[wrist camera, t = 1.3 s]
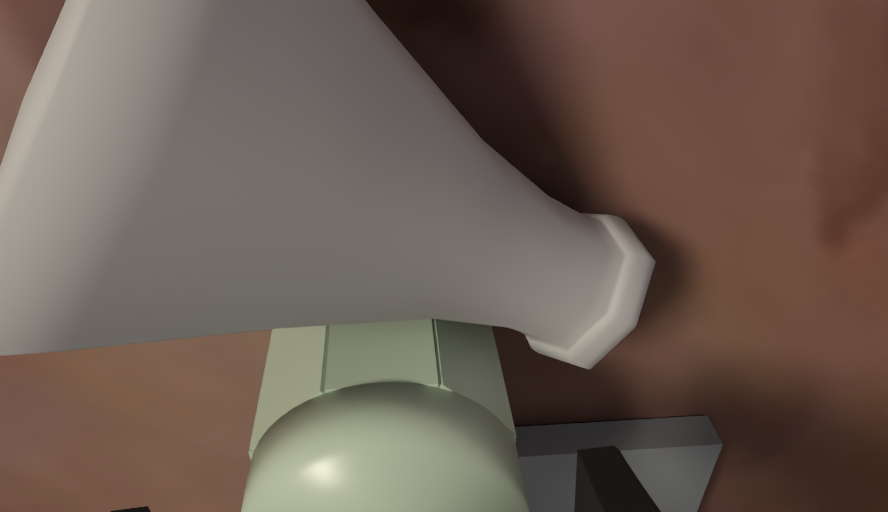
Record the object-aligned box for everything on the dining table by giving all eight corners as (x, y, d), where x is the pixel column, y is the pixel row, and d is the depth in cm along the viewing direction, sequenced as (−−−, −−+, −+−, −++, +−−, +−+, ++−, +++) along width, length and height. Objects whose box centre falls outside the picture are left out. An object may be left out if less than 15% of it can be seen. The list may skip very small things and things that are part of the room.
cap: (494, 244, 14) (548, 445, 10) (482, 402, 17) (520, 615, 13) (262, 252, 14) (208, 466, 9) (289, 413, 17) (258, 637, 12)
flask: (191, -371, 4) (852, 186, 10) (147, -188, 10) (573, 96, 16) (-150, 495, 6) (604, 566, 11) (-13, 213, 12) (432, 349, 17)
